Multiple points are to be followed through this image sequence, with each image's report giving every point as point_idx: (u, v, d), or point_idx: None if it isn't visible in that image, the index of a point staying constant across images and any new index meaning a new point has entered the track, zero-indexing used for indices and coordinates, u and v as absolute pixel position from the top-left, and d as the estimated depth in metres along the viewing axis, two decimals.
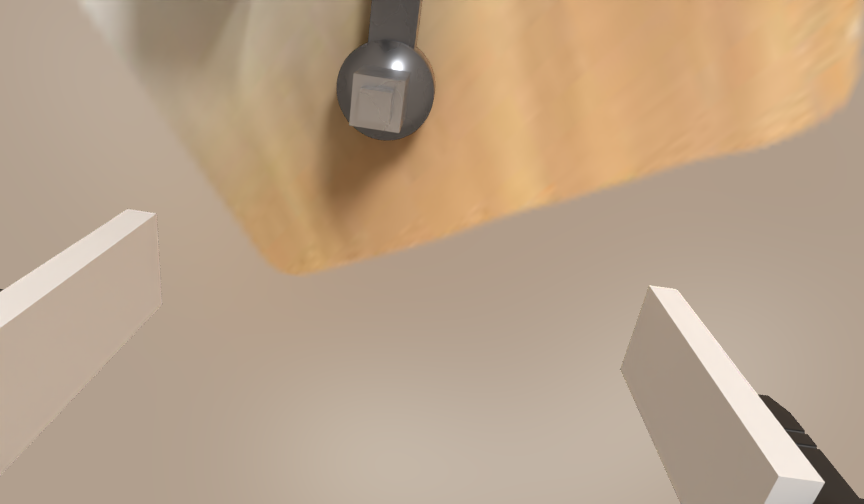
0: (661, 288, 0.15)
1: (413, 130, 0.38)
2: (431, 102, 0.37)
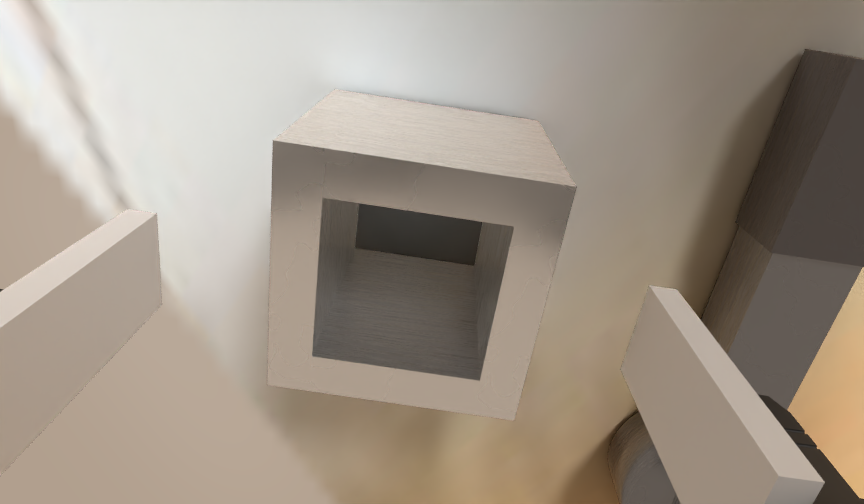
0: (661, 288, 0.15)
1: None
2: None
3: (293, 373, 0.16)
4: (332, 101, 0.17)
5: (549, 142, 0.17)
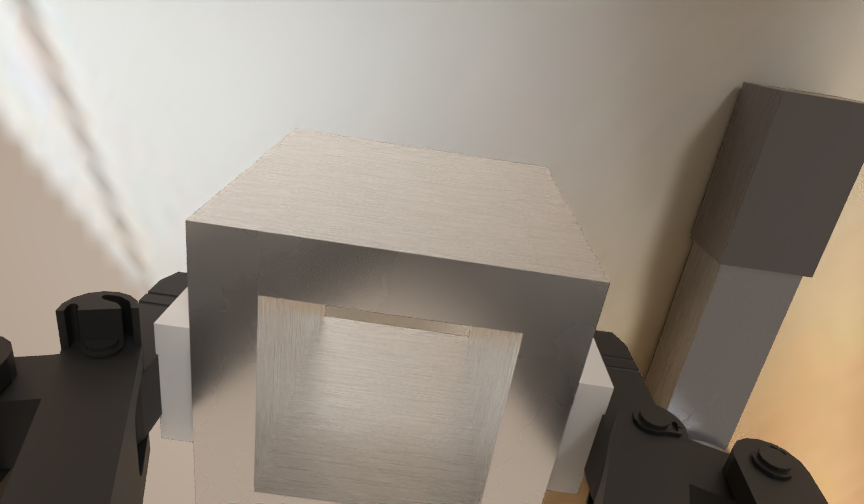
0: None
1: None
2: None
3: None
4: (288, 148, 0.14)
5: (563, 202, 0.13)
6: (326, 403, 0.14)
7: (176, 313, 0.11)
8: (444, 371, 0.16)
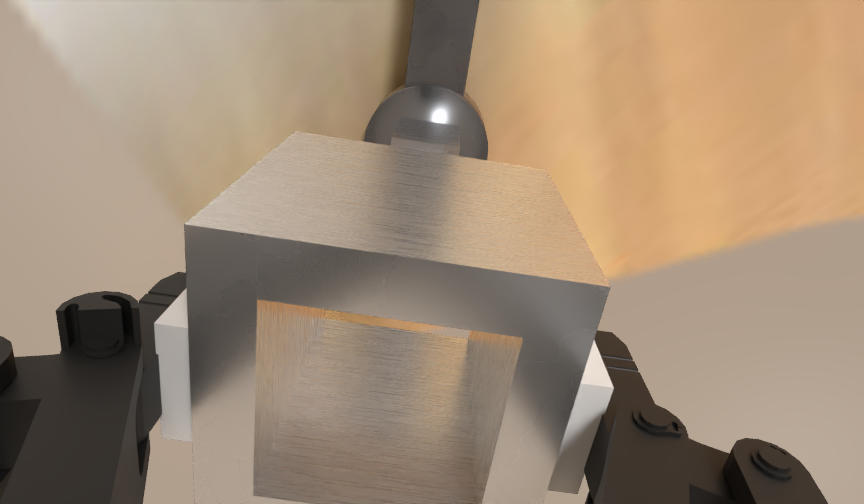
0: None
1: None
2: None
3: None
4: (287, 150, 0.14)
5: (564, 205, 0.13)
6: (325, 406, 0.14)
7: (176, 313, 0.11)
8: (444, 374, 0.16)
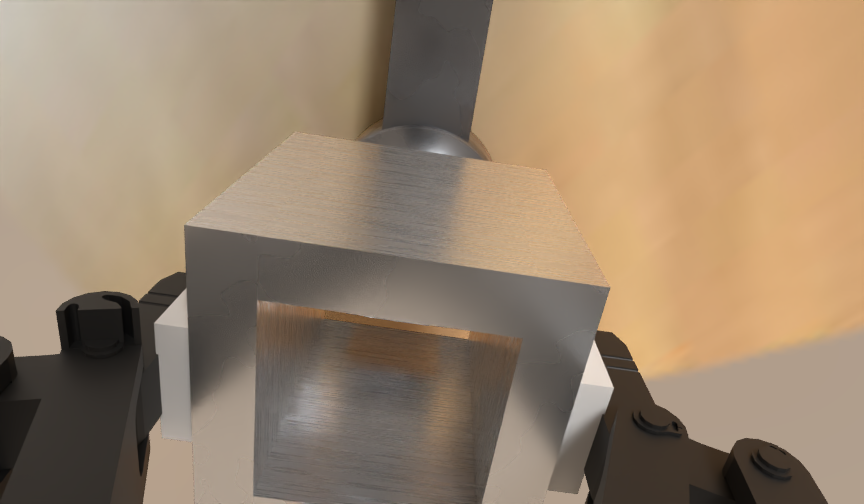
0: None
1: None
2: None
3: None
4: (287, 151, 0.14)
5: (563, 205, 0.13)
6: (325, 406, 0.14)
7: (176, 313, 0.11)
8: (444, 374, 0.16)
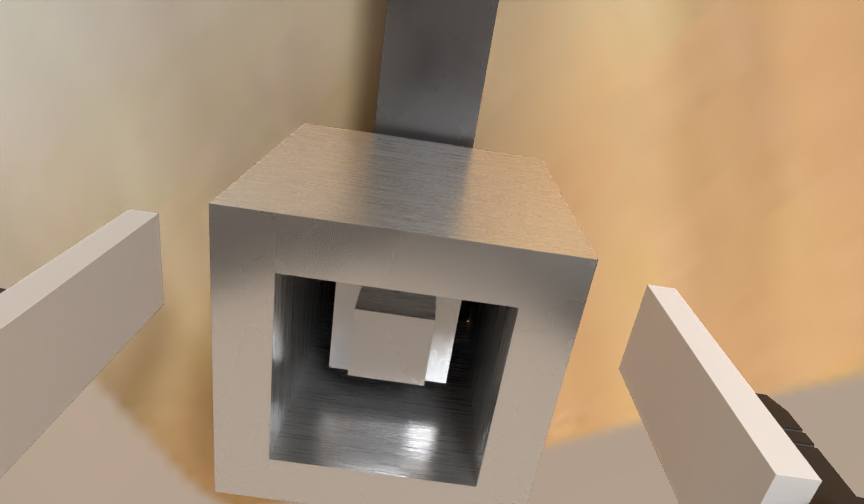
0: (659, 287, 0.15)
1: (463, 319, 0.19)
2: None
3: (246, 478, 0.13)
4: (298, 140, 0.15)
5: (557, 190, 0.14)
6: (334, 381, 0.15)
7: None
8: None
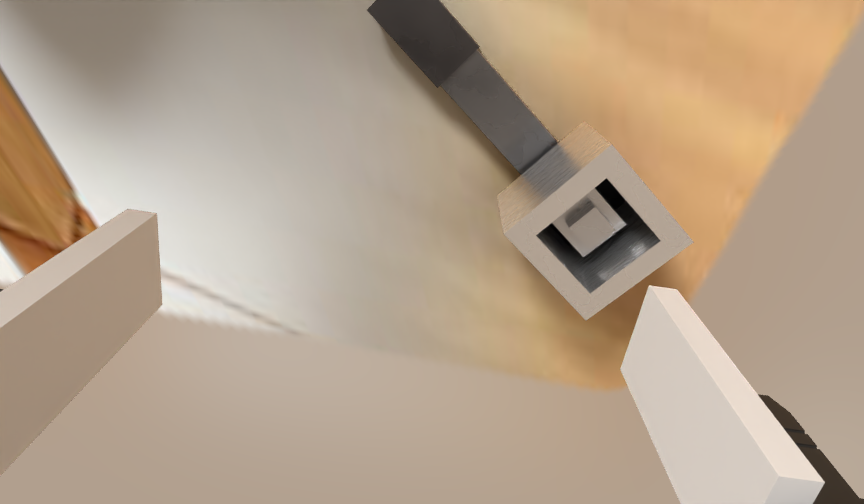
0: (661, 288, 0.15)
1: (623, 202, 0.36)
2: None
3: (590, 306, 0.31)
4: (502, 201, 0.35)
5: (593, 130, 0.32)
6: (591, 262, 0.34)
7: None
8: (624, 218, 0.35)
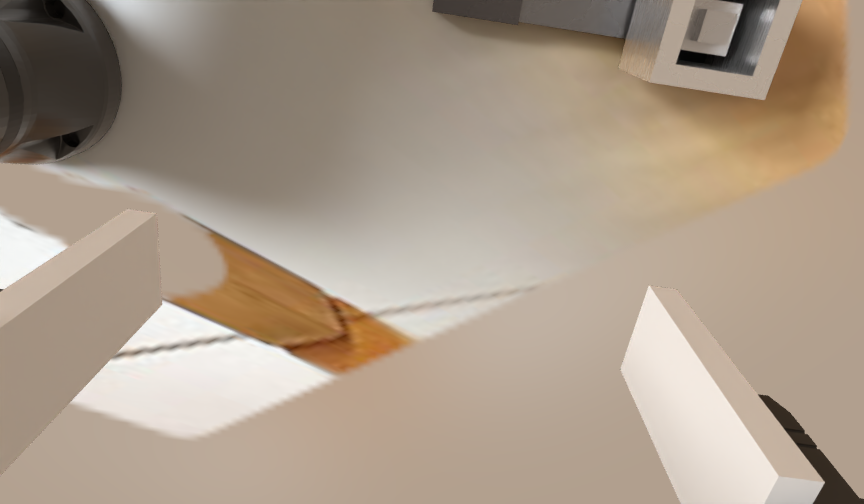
0: (661, 288, 0.15)
1: None
2: None
3: (760, 86, 0.33)
4: (627, 66, 0.38)
5: None
6: (735, 55, 0.36)
7: None
8: None
